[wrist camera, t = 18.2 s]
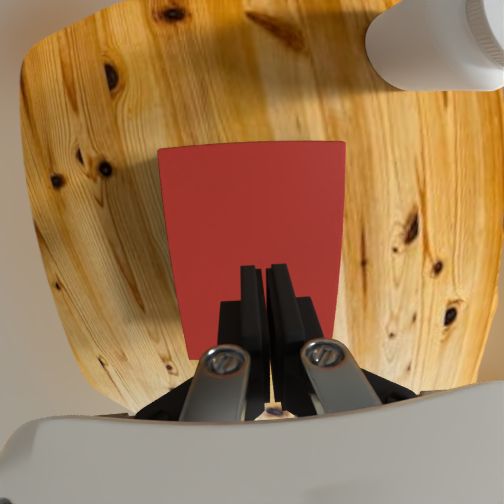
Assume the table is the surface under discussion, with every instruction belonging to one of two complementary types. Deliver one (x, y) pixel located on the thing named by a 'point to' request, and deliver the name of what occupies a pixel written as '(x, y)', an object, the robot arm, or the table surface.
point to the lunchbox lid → (251, 224)
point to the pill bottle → (439, 45)
